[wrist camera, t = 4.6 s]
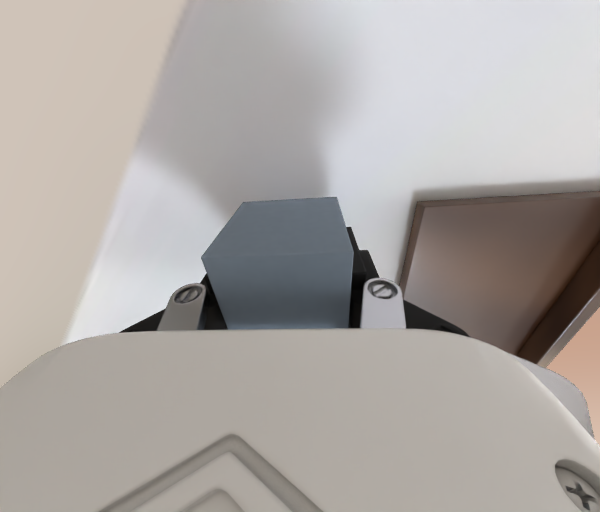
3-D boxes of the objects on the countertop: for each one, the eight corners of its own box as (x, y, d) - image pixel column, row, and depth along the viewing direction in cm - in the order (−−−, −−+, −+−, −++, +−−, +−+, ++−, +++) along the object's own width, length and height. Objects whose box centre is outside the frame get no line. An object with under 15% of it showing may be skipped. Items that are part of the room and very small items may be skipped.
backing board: (417, 201, 14) (437, 216, 11) (628, 188, 13) (692, 202, 11) (381, 370, 23) (388, 396, 21) (502, 368, 22) (522, 394, 20)
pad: (242, 201, 11) (200, 256, 7) (336, 196, 11) (353, 251, 6) (262, 292, 14) (242, 368, 10) (335, 291, 14) (345, 368, 10)
